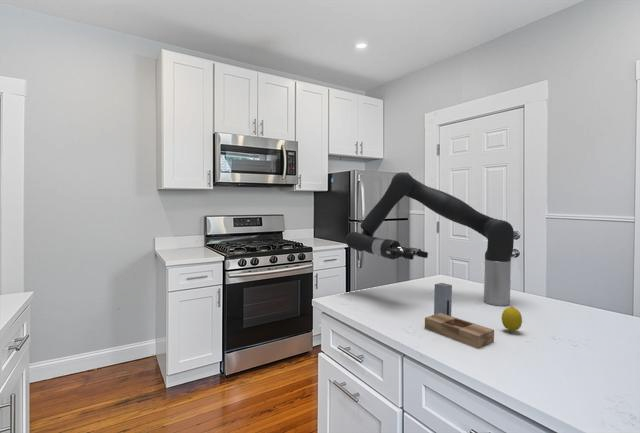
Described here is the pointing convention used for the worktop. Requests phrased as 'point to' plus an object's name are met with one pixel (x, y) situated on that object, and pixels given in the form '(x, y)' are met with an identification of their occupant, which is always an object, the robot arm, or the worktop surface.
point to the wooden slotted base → (460, 330)
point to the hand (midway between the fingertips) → (420, 256)
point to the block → (443, 299)
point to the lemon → (511, 319)
